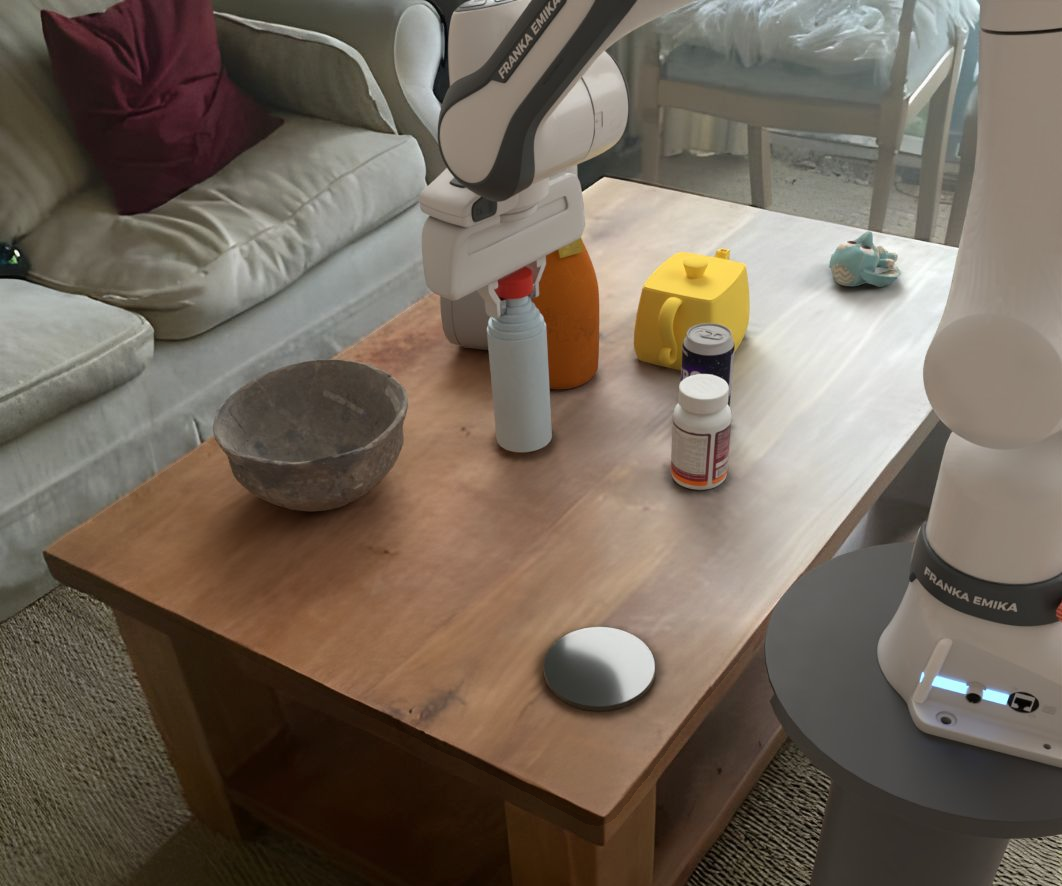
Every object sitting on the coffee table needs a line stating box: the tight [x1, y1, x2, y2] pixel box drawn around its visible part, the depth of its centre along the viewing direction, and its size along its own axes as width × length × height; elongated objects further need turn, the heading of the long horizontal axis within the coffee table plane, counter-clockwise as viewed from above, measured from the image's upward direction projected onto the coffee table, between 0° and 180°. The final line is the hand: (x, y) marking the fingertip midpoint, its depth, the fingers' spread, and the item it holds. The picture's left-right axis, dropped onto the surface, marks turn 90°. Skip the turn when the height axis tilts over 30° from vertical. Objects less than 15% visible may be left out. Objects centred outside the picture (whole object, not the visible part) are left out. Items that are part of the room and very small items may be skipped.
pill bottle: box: [670, 374, 733, 491], centre depth 117 cm, size 6×6×11 cm
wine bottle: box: [525, 237, 600, 390], centre depth 128 cm, size 10×10×30 cm
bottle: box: [487, 296, 553, 453], centre depth 120 cm, size 6×6×20 cm
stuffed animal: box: [828, 230, 901, 288], centre depth 152 cm, size 11×7×12 cm
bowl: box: [212, 358, 409, 512], centre depth 119 cm, size 21×21×10 cm
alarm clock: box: [439, 290, 490, 351], centre depth 143 cm, size 21×10×13 cm, turn 164°
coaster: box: [543, 626, 656, 712], centre depth 98 cm, size 10×10×1 cm
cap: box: [494, 266, 533, 299], centre depth 114 cm, size 4×4×2 cm
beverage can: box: [680, 323, 735, 408], centre depth 124 cm, size 6×6×12 cm
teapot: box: [633, 247, 751, 372], centre depth 139 cm, size 20×12×12 cm, turn 150°
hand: (512, 306), depth 116 cm, fingers closed on bottle, 3 cm apart
